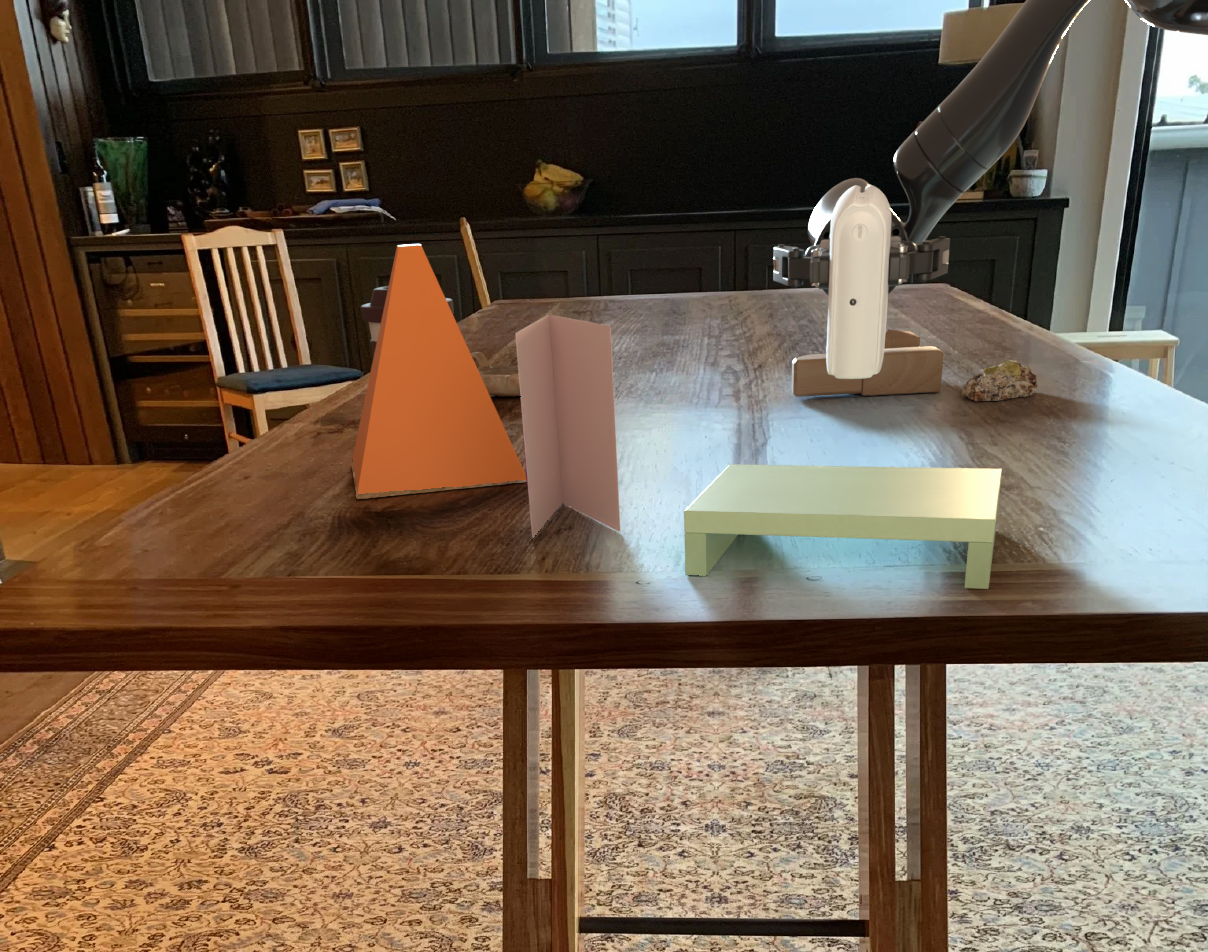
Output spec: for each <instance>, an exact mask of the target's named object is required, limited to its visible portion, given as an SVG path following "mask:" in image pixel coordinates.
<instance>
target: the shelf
mask: <svg viewBox="0 0 1208 952" xmlns="http://www.w3.org/2000/svg"><path fill="white" fill-rule="evenodd" d="M1002 473H1003V469H1002V468H983V467H982V468H981V467H980V468H977V467H975V468H974V467H919V466H918V467H917V466H916V467H915V466H914V467H911V466H910V467H909V466H855V465H854V466H851V465H797V464H796V465H792V464H791V465H790V464H789V465H786V464H784V465H783V464H780V465H779V464H728V465H727V467H725V469H723V471H722V472H721V473H720V474H719V475H717V477H716V478H715V479H714V480H713V481H712V482H711V483H710V484H709V485H707V487H706V488H705V489H704V490H703V491H702V492H701V493H700V494H699V495H698V496H697V497H696V498H695V499H694V500H693V501H692V502H691V504H690V505H689V506H687V507H686V508H685V510H684V511H683V519H684V520H683V522H684V523H683V525H684V527H683V528H684V530H683V531H684V567H685V568H684V570H685V571H684V573H685V576H686V575H699V576H698V577H707V576H708V575H709V574H710V572H711V571H712V569H713V568H714V567H715V566H716V565H717V563H718V562H719V561H720V560H721V558H722V557H723V555H724V554H725V553H726V552H727V551H728V549H729V548H730V546H731V545H732V544H733V543H734V542H735V540H736V539H737V538H738V536H740V535H748V536H749V535H750V536H775V537H803V538H804V537H807V538H831V539H832V538H836V539H861V540H863V539H865V540H866V539H867V540H893V541H894V540H895V541H896V540H897V541H923V542H924V541H926V542H951V543H952V542H955V543H956V542H957V543H967V553H966V554H967V555H966V564H965V575H964V587H963V588H964V589H974V590H975V589H976V590H977V589H978V590H989V587H990V581H991V571H992V564H993V558H994V557H993V556H994V547H995V539H996V533H997V532H996V531H997V523H998V512H999V502H1000V494H1001V483H1002ZM706 575H707V576H706Z"/></svg>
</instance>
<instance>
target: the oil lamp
mask: <svg viewBox="0 0 1208 952" xmlns="http://www.w3.org/2000/svg"><path fill="white" fill-rule="evenodd" d="M470 354H471V356H472V358H473V360H474V362H475V365H476V366H477V363H478V365H479V366H478V367H477V369H478V371H479V373H480V375H481V378H482V380H483V382H484V384H485V386H486V389H487V391H488V393H489V395H497V396H496V397H516V396H520V384H519V372H518V365H495V366H490V363H489V360H488V359H487V357H486V355H485V354H484V353H483V352H481V351H476V352H470Z"/></svg>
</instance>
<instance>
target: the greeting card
mask: <svg viewBox="0 0 1208 952" xmlns="http://www.w3.org/2000/svg"><path fill="white" fill-rule="evenodd" d="M514 335H515V345H516V346H515V347H516V358H517V366H518V372H519V384H520V396H521V397H520V405H521V406H520V407H521V417H522V418H521V419H522V430H523V432H522V433H523V442H524V463H525V464H524V466H525V474H526V479H527V483H526V486H527V487H526V488H527V494H528V501H529V502H528V503H529V515H530V527H531V528H530V529H531V538H534V537H535V535H537V536H538V534H539V533H538V531H540V529H541V528H542V527H543V526H544V524H545V523H546V522H547V520H549V521H550V519H551V518H552V517H553V516H554V514H555V513H556V512H557V511H558V509H559V508H560V507H561V506H562V505H563V504H564V505H566V506H568V507H570V506H571V507H570V508H572V509H574V510H575V509H576V510H575V511H577V510H578V512H579V513H581V512H582V513H581V514H583V513H584V514H583V515H585V516H587V517H589V518H591V519H593V520H595V521H597V522H599V523H601V524H603V525H605V526H607V527H608V528H611V529H613V530H615V531H617V532H619V531H620V532H621V514H620V494H619V492H620V491H619V490H620V489H619V474H618V473H619V472H618V471H619V469H618V453H617V449H618V448H617V429H616V410H615V407H616V406H615V390H614V368H613V367H614V366H613V365H614V364H613V347H612V327H611V325H606V324H601V323H595V322H591V321H585V320H580V319H575V318H569V317H564V316H561V315H560V316H559V315H554V314H547V315H545V316H544V317H542V318H539V320H536V321H535V322H533V323H531V324H529V325H527V326H526V327H524V328H522V329H520V330H519V331H517V332H515V334H514ZM562 502H563V503H562ZM560 505H561V506H560ZM559 506H560V507H559ZM556 510H557V511H556ZM555 511H556V512H555ZM554 512H555V513H554ZM553 513H554V514H553ZM552 515H553V516H552ZM551 516H552V517H551ZM550 517H551V518H550ZM549 518H550V519H549ZM547 523H548V522H547ZM547 523H546V524H547ZM546 524H545V525H546ZM544 527H545V526H544ZM544 527H543V528H544ZM543 528H542V529H543ZM542 529H541V530H542ZM540 532H541V531H540ZM537 533H538V534H537ZM535 538H536V537H535ZM535 538H534V539H535Z"/></svg>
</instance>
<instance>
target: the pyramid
mask: <svg viewBox="0 0 1208 952" xmlns="http://www.w3.org/2000/svg"><path fill="white" fill-rule="evenodd" d="M388 286H389V287H388V292H387V296H386V301H385V306H384V311H383V315H382V320H381V325H380V330H379V334H378V339H377V344H376V349H375V353H374V358H372V362H371V367H370V373H369V377H368V382H367V386H366V391H365V392H366V393H365V397H364V401H363V407H362V410H361V415H360V421H359V424H358V430H357V435H356V439H355V444H354V450H353V453H352V458H353V461H354V469H355V479H356V487H357V494H365V493H379V492H389V491H404V490H422V489H431V488H442V487H462V486H472V485H477V484H485V483H501V482H507V481H515V480H521V481H522V480H527V479H526V471H525V470H524V468H523V465H522V463H521V461H520V459H519V457H518V455H517V453H516V450H515V448H514V446H513V443H512V442H511V439H510V437H509V434H508V433H507V431H506V428H505V426H504V424H503V421H502V419H501V417H500V415H499V413H498V411H497V408H496V406H495V404H494V402H493V399H492V398H491V397H492V396H490V395H489V393H488V391H487V389H486V386H485V384H484V382H483V380H482V378H481V375H480V373H479V371H478V367H477V364H476V365H475V362H474V360H473V358H472V356H471V351H470V349H469V346H468V345H467V343H466V341H465V339H464V336H463V334H462V331H461V330H460V328H459V325H458V323H457V320H456V319H455V316H454V314H452V312H451V310H450V307H449V305H448V303H447V301H446V299H445V298H446V297H445V294H444V291H443V290H442V288H441V286H440V284H439V281H438V279H437V276H436V275H435V273H434V270H433V268H432V266H431V264H430V261H429V258H428V257H427V255H426V252H425V250H424V248H423V246H422V244H421V243H411V244H410V243H409V244H398V245H396V250H395V254H394V259H393V264H392V268H391V273H390V278H389V282H388Z"/></svg>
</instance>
